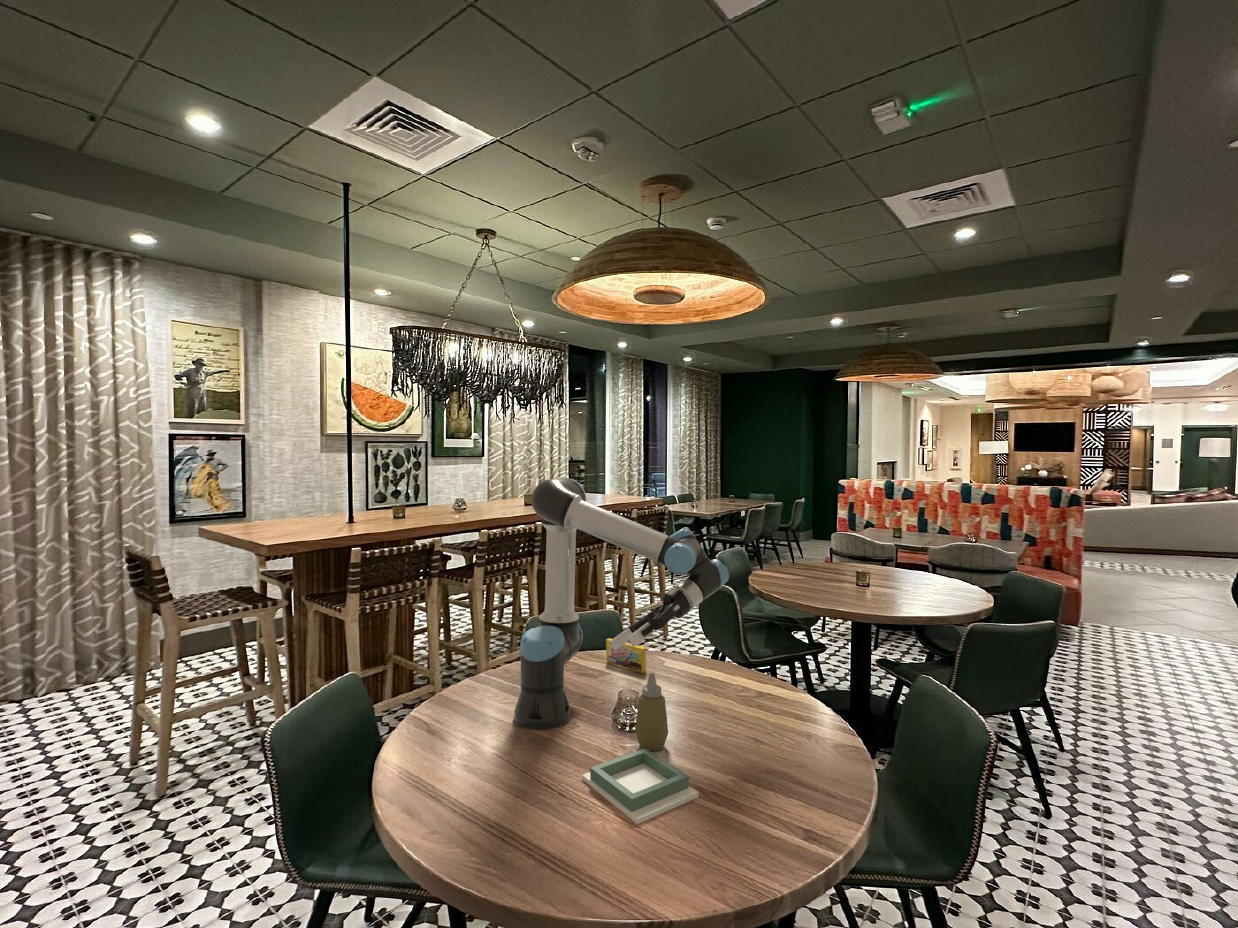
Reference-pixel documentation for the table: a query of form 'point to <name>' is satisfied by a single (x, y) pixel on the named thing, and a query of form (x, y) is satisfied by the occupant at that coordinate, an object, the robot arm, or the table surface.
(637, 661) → the candy box
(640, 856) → the table surface
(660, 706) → the squeeze bottle
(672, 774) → the collar stand
